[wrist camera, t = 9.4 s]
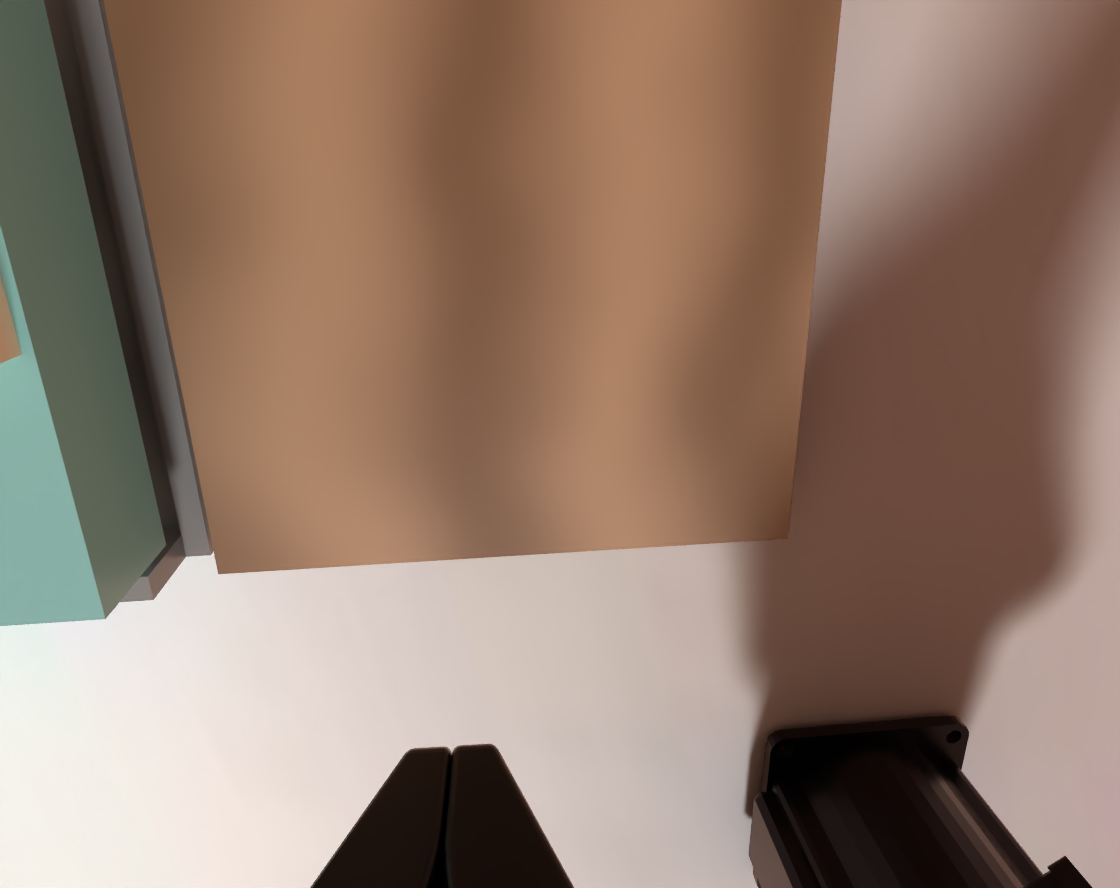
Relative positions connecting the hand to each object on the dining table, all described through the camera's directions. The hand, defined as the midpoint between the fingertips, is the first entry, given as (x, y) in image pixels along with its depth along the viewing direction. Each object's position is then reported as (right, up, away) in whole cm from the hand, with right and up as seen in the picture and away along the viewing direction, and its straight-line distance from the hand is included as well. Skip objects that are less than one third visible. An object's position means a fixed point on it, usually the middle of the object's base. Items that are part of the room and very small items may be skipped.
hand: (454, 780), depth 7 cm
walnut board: (0, +8, +11) cm, 13 cm away
